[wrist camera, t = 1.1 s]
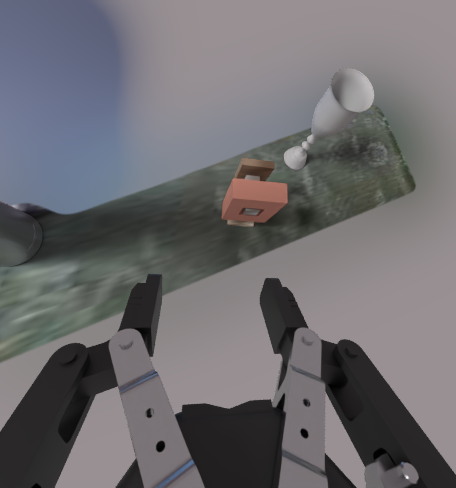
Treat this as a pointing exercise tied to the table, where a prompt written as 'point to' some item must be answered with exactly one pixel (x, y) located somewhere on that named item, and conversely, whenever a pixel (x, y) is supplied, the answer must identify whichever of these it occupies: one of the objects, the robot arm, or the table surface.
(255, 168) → the pipe stand
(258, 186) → the pink block with hole
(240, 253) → the table surface
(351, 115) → the chalice
